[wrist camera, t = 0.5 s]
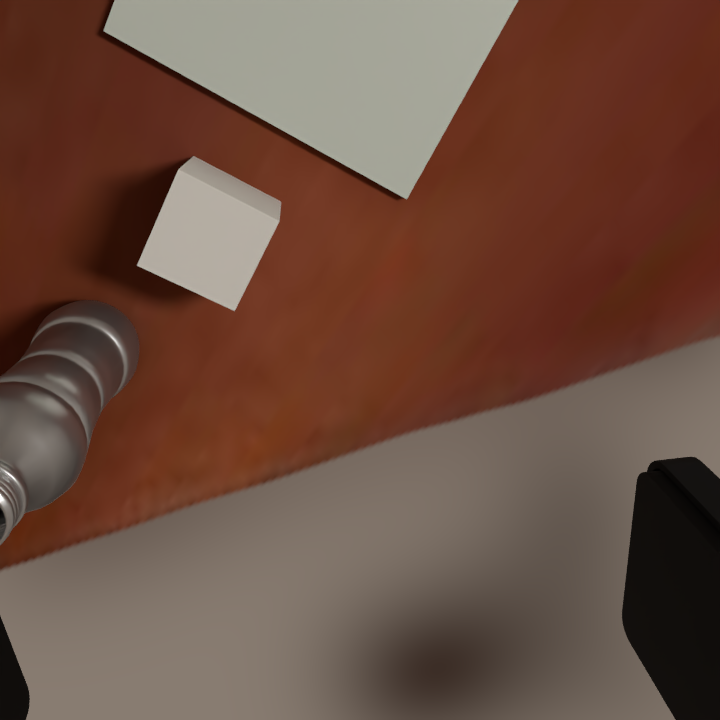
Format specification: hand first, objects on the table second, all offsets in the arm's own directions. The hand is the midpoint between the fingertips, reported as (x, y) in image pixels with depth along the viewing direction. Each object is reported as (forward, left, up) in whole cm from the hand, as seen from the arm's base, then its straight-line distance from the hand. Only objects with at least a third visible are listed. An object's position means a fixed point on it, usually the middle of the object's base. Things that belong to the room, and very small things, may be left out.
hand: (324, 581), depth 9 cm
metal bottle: (-8, -16, -36) cm, 40 cm away
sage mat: (-4, +10, -36) cm, 37 cm away
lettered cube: (-4, -5, -36) cm, 36 cm away
